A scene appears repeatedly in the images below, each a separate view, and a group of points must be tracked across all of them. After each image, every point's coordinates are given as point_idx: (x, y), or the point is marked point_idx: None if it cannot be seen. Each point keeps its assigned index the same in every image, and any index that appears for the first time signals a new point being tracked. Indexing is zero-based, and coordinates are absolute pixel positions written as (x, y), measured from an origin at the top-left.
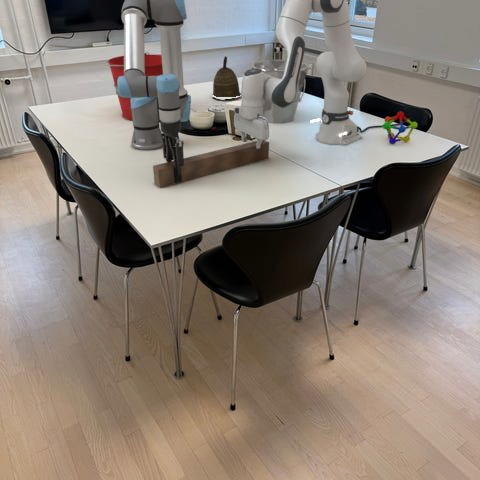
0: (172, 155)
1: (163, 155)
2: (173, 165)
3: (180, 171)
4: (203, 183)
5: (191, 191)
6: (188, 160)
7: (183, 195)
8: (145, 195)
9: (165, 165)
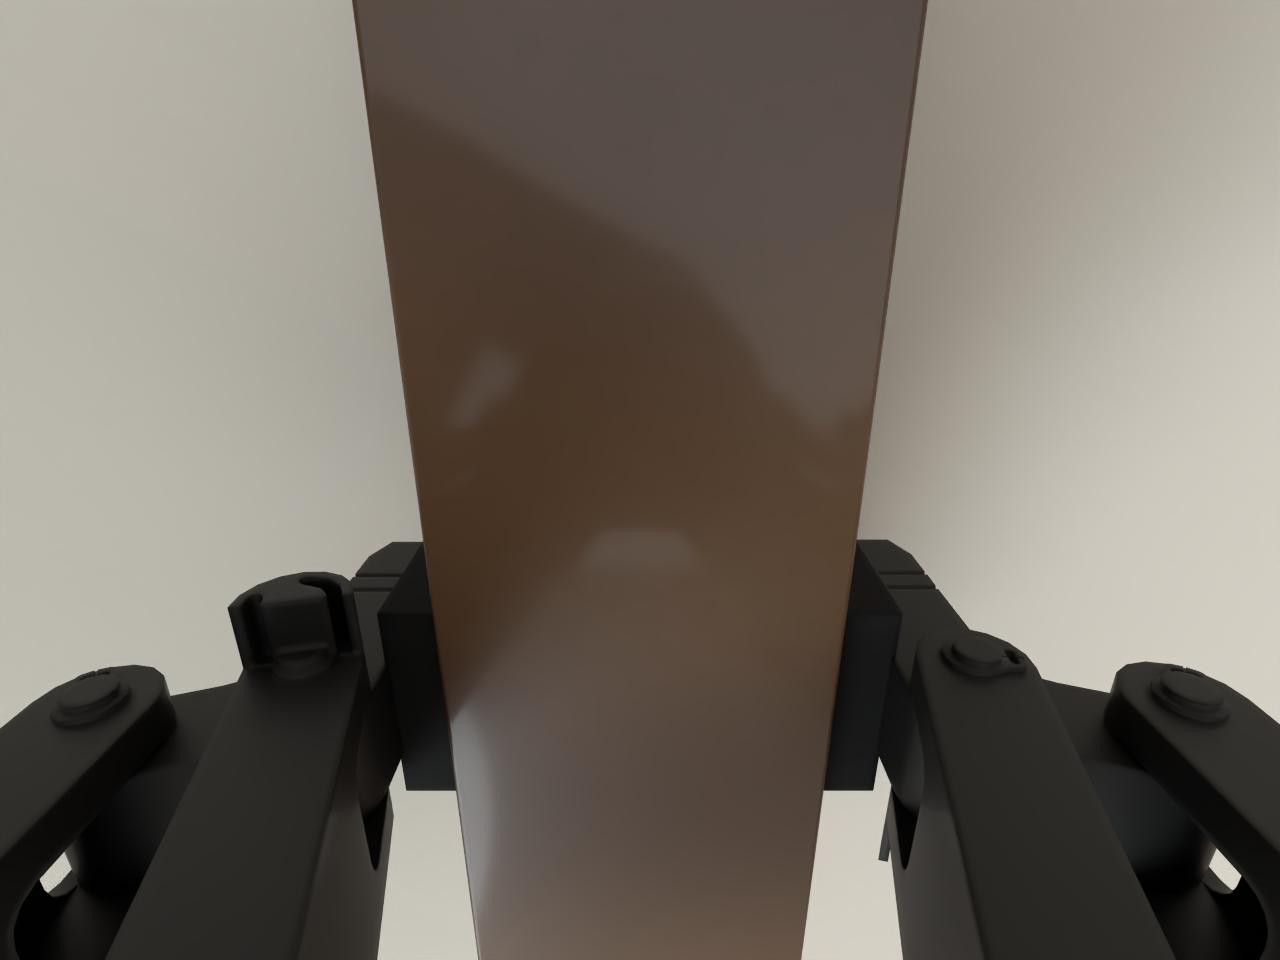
0: (335, 808)
1: (70, 917)
2: (795, 801)
3: (931, 602)
4: (1095, 68)
5: (1174, 459)
6: (731, 176)
7: (1177, 619)
8: (804, 943)
9: (654, 934)
